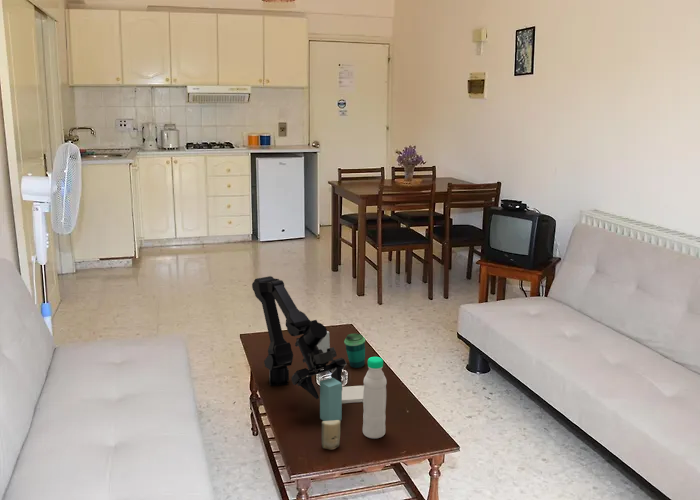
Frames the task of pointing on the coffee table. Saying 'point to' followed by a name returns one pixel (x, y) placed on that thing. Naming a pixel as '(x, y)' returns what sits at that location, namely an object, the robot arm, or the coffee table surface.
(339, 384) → the teal block
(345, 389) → the cream tile
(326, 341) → the small box
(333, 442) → the power adapter
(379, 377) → the water bottle
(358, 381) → the coffee table surface
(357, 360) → the cup
